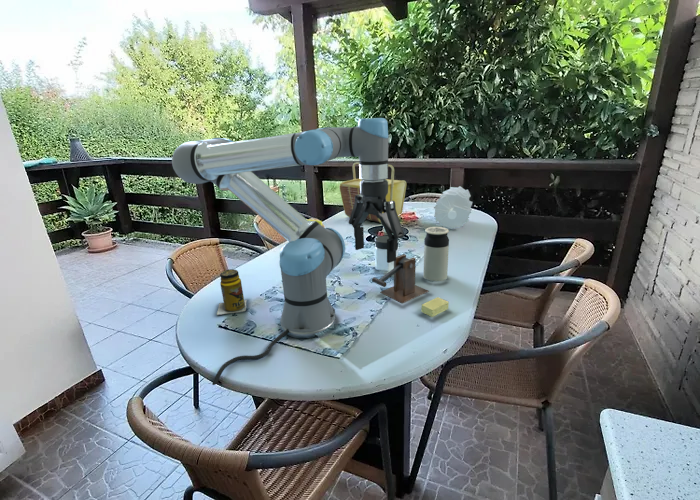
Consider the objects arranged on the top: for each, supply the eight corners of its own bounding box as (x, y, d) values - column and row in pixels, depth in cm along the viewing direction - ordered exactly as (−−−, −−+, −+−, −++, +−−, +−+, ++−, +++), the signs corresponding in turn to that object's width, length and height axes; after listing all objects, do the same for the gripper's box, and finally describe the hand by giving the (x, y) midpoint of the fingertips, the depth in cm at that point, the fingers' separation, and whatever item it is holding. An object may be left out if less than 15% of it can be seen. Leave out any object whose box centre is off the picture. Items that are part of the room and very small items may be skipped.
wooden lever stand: (402, 307, 109) (402, 267, 105) (379, 295, 117) (379, 258, 112) (429, 294, 116) (430, 257, 111) (406, 284, 123) (406, 249, 119)
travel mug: (445, 286, 121) (448, 234, 115) (421, 283, 124) (422, 232, 118) (448, 276, 128) (450, 227, 122) (425, 274, 131) (426, 225, 125)
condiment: (245, 311, 111) (239, 275, 107) (216, 315, 109) (209, 279, 105) (246, 300, 118) (241, 266, 114) (219, 304, 116) (212, 269, 112)
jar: (383, 276, 131) (383, 244, 126) (370, 269, 137) (369, 239, 133) (403, 270, 135) (403, 239, 131) (389, 263, 142) (388, 234, 137)
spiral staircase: (441, 238, 180) (446, 221, 202) (476, 225, 172) (477, 209, 194) (426, 205, 176) (432, 192, 198) (461, 190, 168) (464, 178, 190)
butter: (432, 321, 101) (432, 310, 100) (421, 315, 104) (421, 304, 103) (448, 312, 105) (448, 301, 104) (437, 307, 108) (437, 296, 107)
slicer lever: (384, 289, 106) (382, 282, 105) (372, 283, 110) (370, 277, 108) (414, 266, 112) (412, 260, 111) (402, 262, 116) (401, 255, 114)
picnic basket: (408, 216, 206) (408, 161, 196) (379, 226, 189) (378, 167, 179) (368, 209, 225) (367, 159, 215) (339, 218, 208) (336, 164, 198)
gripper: (419, 183, 89) (416, 263, 97) (355, 173, 108) (357, 241, 115) (397, 187, 85) (396, 271, 93) (334, 176, 104) (338, 247, 111)
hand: (374, 254), depth 104 cm, fingers open, 13 cm apart
